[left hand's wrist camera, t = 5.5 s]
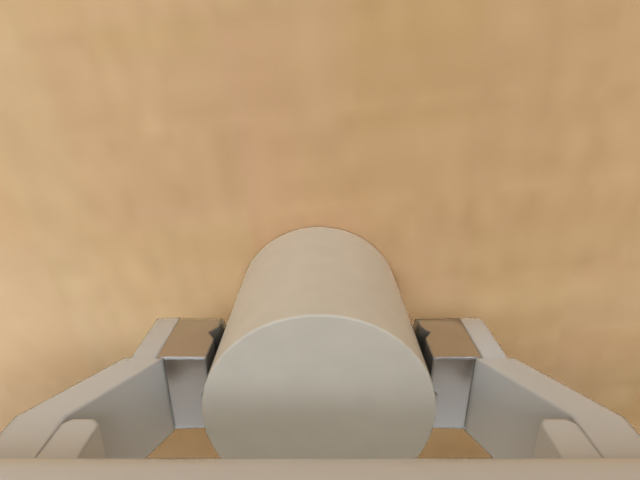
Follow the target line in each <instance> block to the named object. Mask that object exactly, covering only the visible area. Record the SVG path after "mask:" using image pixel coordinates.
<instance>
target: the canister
mask: <svg viewBox="0 0 640 480" xmlns="http://www.w3.org/2000/svg"><path fill="white" fill-rule="evenodd" d="M435 415H436V395H435V391H434V386H433V382H432V380H431V377H430V374H429V371H428V369H427V366H426V363H425V360H424V358H423V355H422V352H421V349H420V347H419V344H418V341H417V338H416V336H415V333H414V330H413V327H412V325H411V322H410V319H409V316H408V314H407V311H406V308H405V305H404V303H403V300H402V297H401V294H400V292H399V289H398V286H397V283H396V281H395V278H394V275H393V273H392V270H391V268H390V266H389V265H388V263H387V261H386V260H385V258H384V257H383V256H382V255H381V253H380V252H379V251H378V250H377V249H376V248H375V247H374V246H372V245H371V244H370V243H368V242H367V241H366V240H364V239H362V238H361V237H359V236H357V235H355V234H352V233H350V232H347V231H344V230H340V229H336V228H329V227H309V228H302V229H298V230H295V231H291V232H288V233H286V234H284V235H281V236H279V237H278V238H276V239H274V240H273V241H271V242H270V243H269V244H267V245H266V246H265V247H264V248H263V249H262V250H261V251H260V252H259V253H258V254H257V255H256V256H255V258H254V259H253V260H252V262H251V263H250V265H249V267H248V269H247V271H246V274H245V276H244V279H243V282H242V285H241V287H240V290H239V293H238V295H237V298H236V301H235V304H234V306H233V309H232V312H231V314H230V317H229V320H228V323H227V325H226V328H225V331H224V333H223V336H222V339H221V342H220V344H219V347H218V350H217V352H216V355H215V358H214V361H213V363H212V366H211V369H210V372H209V374H208V377H207V380H206V383H205V385H204V390H203V395H202V416H203V422H204V426H205V429H206V432H207V435H208V437H209V439H210V441H211V443H212V445H213V447H214V449H215V450H216V451H217V453H218V454H219V456H220V457H221V458H222V459H416V458H417V457H418V455H419V454H420V453H421V451H422V450H423V448H424V447H425V445H426V443H427V441H428V439H429V437H430V435H431V432H432V429H433V425H434V421H435Z"/></svg>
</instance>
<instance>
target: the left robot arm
mask: <svg viewBox="0 0 640 480" xmlns="http://www.w3.org/2000/svg"><path fill="white" fill-rule="evenodd" d="M225 328H226V326H225V321H224V320H223V319H211V318H159V319H157V320H156V321H155V323H154V324H153V326H152V327H151V329H150V330H149V332H148V333H147V335H146V336H145V338H144V339H143V341H142V342H141V344H140V345H139V347H138V348H137V350H136V351H135V353H134V354H133V356H132V357H131V358H124V359H122V360H120V361H118V362H116V363H115V364H113V365H111V366H109V367H107V368H105V369H103V370H102V371H100V372H98V373H96V374H94V375H92V376H90V377H89V378H87V379H85V380H83V381H81V382H79V383H77V384H76V385H74V386H72V387H70V388H68V389H66V390H64V391H63V392H61V393H59V394H57V395H55V396H53V397H51V398H50V399H48V400H46V401H44V402H42V403H40V404H38V405H37V406H35V407H33V408H31V409H29V410H27V411H25V412H24V413H22V414H20V415H18V416H16V417H15V418H14V419H13V420H12V421H11V422H10V423H9V425H8V426H7V427H6V428H5V429H4V430H3V431H2V432H1V434H0V480H640V435H639V434H638V433H637V431H636V430H635V429H634V428H633V427H632V426H631V425H630V423H629V422H628V421H627V420H626V419H625V418H624V417H622V416H620V415H619V414H617V413H615V412H613V411H611V410H609V409H607V408H606V407H604V406H602V405H600V404H598V403H596V402H595V401H593V400H591V399H589V398H587V397H585V396H583V395H582V394H580V393H578V392H576V391H574V390H572V389H571V388H569V387H567V386H565V385H563V384H561V383H559V382H558V381H556V380H554V379H552V378H550V377H548V376H547V375H545V374H543V373H541V372H539V371H537V370H535V369H534V368H532V367H530V366H528V365H526V364H524V363H523V362H521V361H519V360H517V359H515V358H508V357H507V356H506V354H505V353H504V351H503V350H502V349H501V347H500V346H499V344H498V343H497V341H496V340H495V338H494V337H493V335H492V334H491V332H490V331H489V329H488V328H487V326H486V325H485V323H484V322H483V320H482V319H480V318H478V317H477V318H448V319H416V320H415V322H414V326H413V330H414V333H415V336H416V338H417V341H418V344H419V347H420V349H421V352H422V355H423V358H424V360H425V363H426V366H427V369H428V371H429V374H430V377H431V380H432V382H433V386H434V391H435V395H436V415H435V421H434V425H433V428H459V429H465V431H466V432H467V433H468V434H469V435H470V436H471V437H472V438H473V439H474V440H475V441H476V442H477V443H478V444H479V445H480V446H481V447H482V448H483V449H485V450H486V451H487V452H488V453H489V454H490V455H491V456H492V457H493V458H480V459H145V458H146V457H147V456H148V455H149V454H150V453H152V452H153V451H154V450H155V449H156V448H157V447H158V446H159V445H160V444H161V443H162V442H163V441H164V440H165V439H166V438H167V437H168V436H169V435H170V434H172V433H173V432H174V429H180V428H205V426H204V422H203V416H202V395H203V390H204V385H205V383H206V380H207V377H208V374H209V372H210V369H211V366H212V363H213V361H214V358H215V355H216V352H217V350H218V347H219V344H220V342H221V339H222V336H223V333H224V331H225Z"/></svg>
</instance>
